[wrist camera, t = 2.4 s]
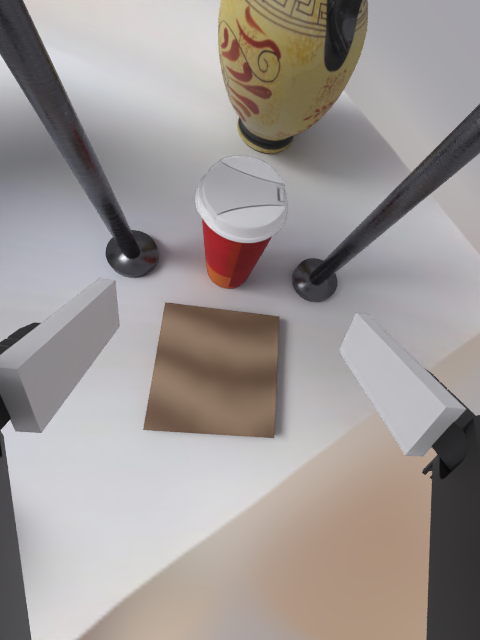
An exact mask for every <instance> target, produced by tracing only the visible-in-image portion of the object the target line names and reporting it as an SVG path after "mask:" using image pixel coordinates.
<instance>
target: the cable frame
mask: <svg viewBox="0 0 480 640" xmlns="http://www.w3.org/2000/svg"><path fill="white" fill-rule="evenodd" d="M0 55H1V56H2V58H3V59H4V61H5V63H6V64H7V66H8V68H9V69H10V71H11V72H12V74H13V76H14V77H15V79H16V81H17V82H18V84H19V85H20V87H21V89H22V90H23V92H24V94H25V95H26V97H27V98H28V100H29V102H30V103H31V105H32V106H33V108H34V110H35V111H36V113H37V115H38V116H39V118H40V119H41V121H42V123H43V124H44V126H45V128H46V129H47V131H48V132H49V134H50V136H51V137H52V139H53V141H54V142H55V144H56V145H57V147H58V149H59V150H60V152H61V154H62V155H63V157H64V158H65V160H66V162H67V163H68V165H69V166H70V168H71V170H72V171H73V173H74V175H75V176H76V178H77V179H78V181H79V183H80V184H81V186H82V188H83V189H84V191H85V192H86V194H87V196H88V197H89V199H90V201H91V202H92V204H93V205H94V207H95V209H96V210H97V212H98V213H99V215H100V217H101V218H102V220H103V222H104V223H105V225H106V226H107V228H108V230H109V231H110V233H111V235H112V236H113V238H112V239H111V240H110V241H109V243H108V245H107V247H106V258H107V260H108V262H109V264H110V265H111V267H112V268H113V269H114V270H115V271H116V272H117V273H119V274H120V275H123V276H125V277H132V278H135V277H141V276H144V275H146V274H148V273H149V272H151V271H152V270H153V269H154V268H155V266H156V264H157V262H158V257H159V254H158V250H157V247H156V244H155V242H154V241H153V239H152V238H151V237H150V236H149V235H147V234H145V233H143V232H140V231H136V230H131V229H130V227H129V225H128V223H127V221H126V218H125V216H124V214H123V212H122V210H121V208H120V206H119V204H118V201H117V199H116V197H115V195H114V193H113V191H112V189H111V187H110V184H109V182H108V180H107V178H106V176H105V174H104V172H103V170H102V167H101V165H100V163H99V161H98V159H97V157H96V155H95V153H94V150H93V148H92V146H91V144H90V142H89V140H88V138H87V136H86V134H85V131H84V129H83V127H82V125H81V123H80V121H79V119H78V117H77V114H76V112H75V110H74V108H73V106H72V104H71V102H70V100H69V97H68V95H67V93H66V91H65V89H64V87H63V85H62V83H61V80H60V78H59V76H58V74H57V72H56V70H55V68H54V66H53V63H52V61H51V59H50V57H49V55H48V53H47V51H46V49H45V46H44V44H43V42H42V40H41V38H40V36H39V34H38V32H37V29H36V27H35V25H34V23H33V21H32V19H31V17H30V15H29V12H28V10H27V8H26V6H25V4H24V2H23V0H0ZM479 153H480V104H479V105H478V106H477V107H476V108H475V109H474V110H473V111H472V112H471V113H470V114H469V115H468V116H467V117H466V118H465V119H464V120H463V121H462V122H461V123H460V124H459V125H458V126H457V127H456V128H455V129H454V130H453V131H452V132H451V133H450V134H449V135H448V136H447V137H446V138H445V140H443V141H442V142H441V143H440V145H439V146H437V147H436V148H435V149H434V150H433V152H431V154H430V155H429V156H427V157H426V159H425V160H423V161H422V162H421V163H420V165H419V166H418V167H417V168H416V169H415V170H414V171H413V172H412V173H411V174H410V175H409V176H408V177H407V178H406V179H405V180H404V181H403V182H402V183H401V184H400V185H399V186H398V187H397V188H396V189H395V190H394V191H393V192H392V193H391V194H390V195H389V196H388V197H387V198H386V199H385V200H384V201H383V202H382V203H381V204H380V205H379V206H378V207H377V208H376V209H375V210H374V211H373V212H372V213H371V214H370V215H369V216H368V217H367V218H366V219H365V220H364V221H363V222H362V223H361V224H360V225H359V226H358V227H357V228H356V229H355V230H354V231H353V232H352V233H351V234H350V235H349V236H348V237H347V238H346V239H345V240H344V241H343V242H342V243H341V244H340V245H339V246H338V247H337V248H336V249H335V250H334V251H333V252H332V253H331V254H330V255H329V256H328V257H327V258H326V259H325V260H324V261H322V260H320V259H307V260H304V261H303V262H301V263H300V264H299V265H298V267H297V268H296V269H295V271H294V273H293V278H292V280H293V286H294V288H295V290H296V292H297V293H298V294H299V295H300V296H301V297H302V298H304V299H306V300H308V301H311V302H320V301H323V300H325V299H327V298H328V297H330V296H331V295H332V294H333V293H334V292H335V290H336V287H337V277H336V274H335V272H337V271H338V270H339V269H340V268H341V267H343V266H344V265H345V264H346V263H348V262H349V261H350V260H351V259H352V258H354V257H355V256H356V255H357V254H358V253H360V252H361V251H362V250H363V249H364V248H366V247H367V246H368V245H369V244H370V243H372V242H373V241H374V240H375V239H377V238H378V237H379V236H380V235H381V234H383V233H384V232H385V231H386V230H387V229H389V228H390V227H391V226H392V225H393V224H395V223H396V222H397V221H398V220H399V219H401V218H402V217H403V216H404V215H406V214H407V213H408V212H409V211H410V210H412V209H413V208H414V207H415V206H416V205H418V204H419V203H420V202H421V201H422V200H424V199H425V198H426V197H427V196H428V195H430V194H431V193H432V192H433V191H434V190H436V189H437V188H438V187H439V186H440V185H442V184H443V183H444V182H445V181H447V180H448V179H449V178H450V177H451V176H453V175H454V174H455V173H456V172H457V171H459V170H460V169H461V168H462V167H464V166H465V165H466V164H467V163H468V162H470V161H471V160H472V159H473V158H474V157H476V156H477V155H478V154H479Z"/></svg>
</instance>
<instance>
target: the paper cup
mask: <svg viewBox="0 0 480 640" xmlns="http://www.w3.org/2000/svg"><path fill="white" fill-rule="evenodd" d="M284 186H285V185H284V182H283V180H282V178H281V177H280V176H279V174H278V173H277V172H276V171H275V170H274V169H273V168H272V167H271V166H269V165H268V164H266V163H265V162H263V161H261V160H259V159H256V158H253V157H248V156H231V157H226V158H224V159H221V160H220V161H218V162H217V163H216V164H215V165H214V166H213V167H212V168H211V169H210V170H209V171H208V173H207V174H206V175H205V176H204V177H203V179H202V180H201V182H200V185H199V186H198V187H197V189H196V192H195V204H196V209H197V211H198V212H199V214H200V215H201V217H202V223H203V234H204V245H205V256H206V265H207V271H208V275H209V277H210V279H211V280H212V281H213V282H214V283H215V284H216V285H218V286H220V287H222V288H228V289H230V288H236V287H238V286H240V285H241V284H243V283H244V282H245V280H246V279H247V278H248V276H249V275H250V273H251V271H252V270H253V268H254V266H255V265H256V263H257V261H258V260H259V258H260V256H261V255H262V253H263V251H264V249H265V248H266V246H267V244H268V243H269V241H270V239H271V238H272V236H273V235H275V234H276V233H277V232H278V231H279V230H280V229H281V227H282V226H283V224H284V222H285V220H286V217H287V213H288V204H287V198H286V194H285V189H284Z"/></svg>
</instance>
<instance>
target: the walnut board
mask: <svg viewBox="0 0 480 640" xmlns="http://www.w3.org/2000/svg"><path fill="white" fill-rule="evenodd" d="M278 337H279V317H278V316H270V315H262V314H254V313H246V312H238V311H230V310H222V309H214V308H206V307H198V306H189V305H181V304H173V303H165V307H164V313H163V319H162V325H161V331H160V336H159V342H158V348H157V354H156V360H155V365H154V371H153V377H152V383H151V388H150V394H149V400H148V406H147V412H146V417H145V423H144V429H143V430H153V431H170V432H186V433H202V434H218V435H235V436H251V437H267V438H274V429H275V406H276V383H277V360H278Z"/></svg>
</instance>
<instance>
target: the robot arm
mask: <svg viewBox="0 0 480 640" xmlns="http://www.w3.org/2000/svg"><path fill="white" fill-rule="evenodd" d="M119 326H120V325H119V314H118V304H117V293H116V282H115V280H109V279H102V278H99V279H98V280H96V281H95V282H94V283H92V284H91V285H90V286H89V287H87V288H86V289H85V290H83V291H82V292H81V293H80V294H78V295H77V296H76V297H74V298H73V299H72V300H71V301H69V302H68V303H67V304H65V305H64V306H63V307H62V308H60V309H59V310H58V311H56V312H55V313H54V314H53V315H51V316H50V317H49V318H47V319H46V320H45V321H43V322H42V323H32V324H30V325H27V326H25V327H23V328H20V329H18V330H17V331H16V332H14V333H13V334H11V335H10V336H9V337H8V339H4V340H3V341H2V342H0V430H1V429H2V428H3V427H4V426H5V425H6V423H7V422H8V421H9V420H11V422H12V424H13V427H14V429H15V431H20V432H36V433H41V432H42V431H43V430H44V428H45V427H46V426H47V424H48V423H49V422H50V420H51V419H52V418H53V416H54V415H55V413H56V412H57V411H58V409H59V408H60V407H61V405H62V404H63V403H64V401H65V400H66V398H67V397H68V396H69V394H70V393H71V392H72V390H73V389H74V388H75V386H76V385H77V383H78V382H79V381H80V379H81V378H82V377H83V375H84V374H85V373H86V371H87V370H88V369H89V367H90V366H91V364H92V363H93V362H94V360H95V359H96V358H97V356H98V355H99V354H100V352H101V351H102V349H103V348H104V347H105V345H106V344H107V343H108V341H109V340H110V339H111V337H112V336H113V335H114V333H115V332H116V330H117V329H118V328H119ZM339 352H340V354H341V355H342V357H343V358H344V360H345V362H346V363H347V365H348V366H349V368H350V369H351V371H352V373H353V374H354V376H355V377H356V379H357V380H358V382H359V384H360V385H361V387H362V388H363V390H364V391H365V393H366V395H367V396H368V398H369V399H370V401H371V402H372V404H373V406H374V407H375V409H376V410H377V412H378V413H379V415H380V417H381V418H382V419H383V421H384V423H385V424H386V426H387V427H388V429H389V431H390V432H391V434H392V435H393V437H394V439H395V440H396V442H397V443H398V445H399V446H400V448H401V450H402V451H403V453H404V454H405V455H407V456H424V455H425V454H426V452H427V451H428V450H429V449H430V448H431V447H433V449H434V450H435V451H436V453H437V454H438V455H437V456H436V457H435V458H434V459H433V460H432V461H431V462H430V463H429V464H428V465H427V466H426V468H424V470H423V472H422V473H423V474H425V475H426V474H427V473H428V471H432V476H431V477H430V478H431V479H432V497H431V526H430V555H429V584H428V585H429V586H428V613H427V614H428V615H427V640H480V415H478V416H475V415H474V414H473V413H472V412H471V411H470V410H469V409H468V408H467V407H466V406H465V405H464V404H463V403H462V402H461V401H460V400H459V399H458V398H457V397H456V396H455V395H453V393H451V392H450V391H449V390H447V388H446V387H445V386H444V385H443V384H442V383H441V382H439V380H438V379H437V378H436V377H435V376H434V375H433V374H432V373H431V372H429V371H428V370H426V369H425V368H423V367H422V366H421V365H420V364H419V363H418V362H417V361H416V360H415V359H414V358H413V357H412V356H411V355H410V354H409V353H408V352H407V351H406V350H405V349H404V348H403V347H402V346H401V345H400V344H399V343H398V342H397V341H396V340H395V339H394V338H393V337H392V336H391V335H390V334H389V333H387V332H386V331H385V330H384V329H383V328H382V327H381V326H380V325H379V324H378V323H377V322H376V321H375V320H374V319H373V318H372V317H371V316H370V315H369V314H363V313H356V314H355V316H354V319H353V321H352V323H351V325H350V327H349V330H348V332H347V334H346V336H345V338H344V341H343V343H342V345H341V347H340V349H339ZM0 640H31V633H30V626H29V619H28V612H27V604H26V597H25V590H24V582H23V575H22V568H21V560H20V553H19V546H18V539H17V531H16V524H15V517H14V509H13V502H12V495H11V487H10V480H9V473H8V466H7V458H6V451H5V444H4V436H3V434H2V433H1V431H0Z"/></svg>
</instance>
